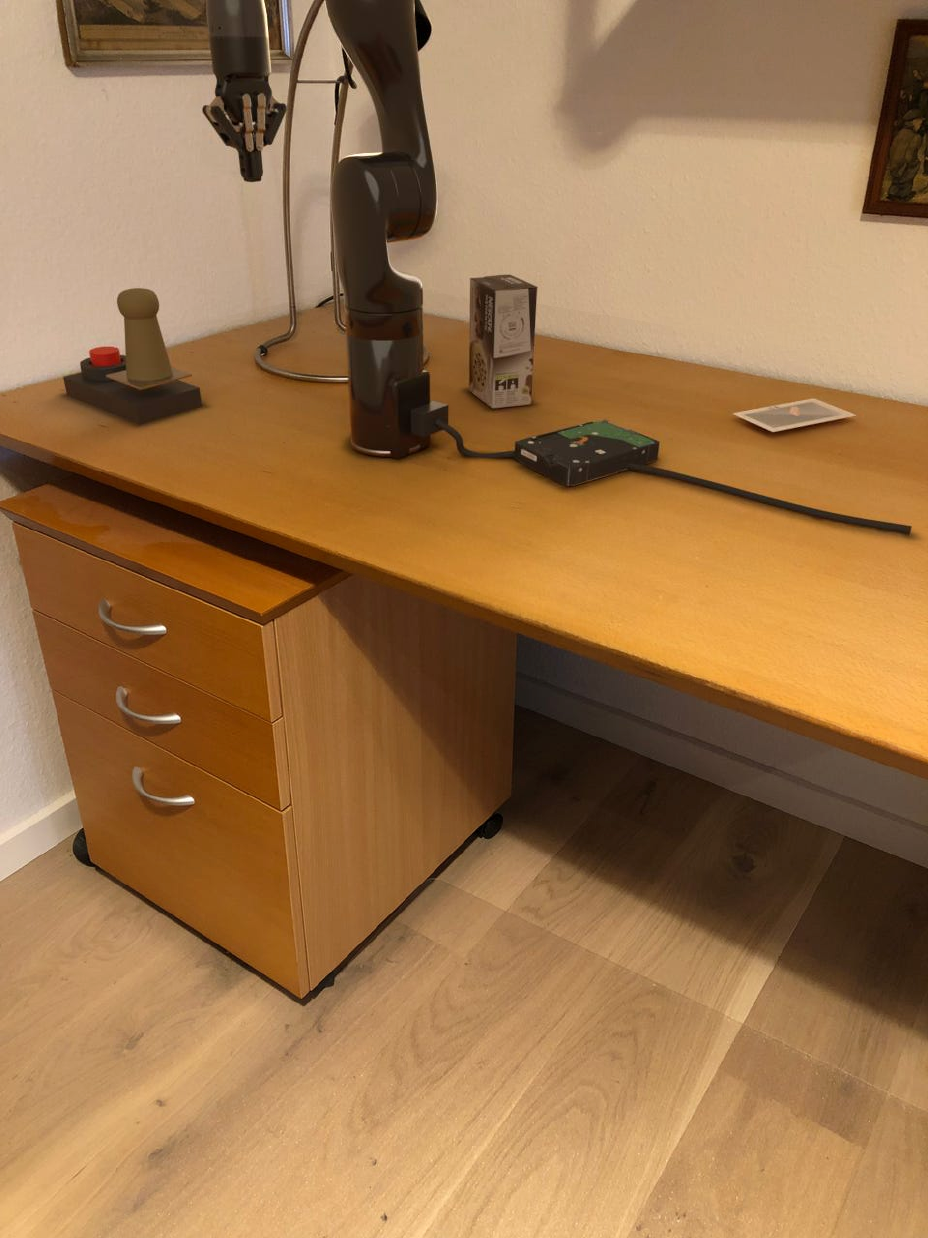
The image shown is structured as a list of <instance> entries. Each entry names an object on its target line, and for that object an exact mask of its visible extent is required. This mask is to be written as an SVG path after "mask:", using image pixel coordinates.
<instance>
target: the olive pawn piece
mask: <svg viewBox="0 0 928 1238" xmlns="http://www.w3.org/2000/svg"><path fill="white" fill-rule="evenodd" d="M116 305H117V309H118V312H119V313H120V314H121V316H122V317H123V320H124V321H123V324H124V325H123V326H124V327H123V328H124V348H125V349H124V350H125V351H124V352H125V353H124V354H125V356H126V375H127V377H128V378H129V379H132V380H138V381H151V380H158V379H163V378H166V377H169V376H170V375H172V373H173V371H172V368H173V367H172V364H171V362H170V358H169V354H168V351H167V347H166V343H165V341H164V338H163V333H162V329H161V327H160V323H159V320H158V313H159V311H160V301H159V298H158V295H157V294H156V293H155V292H154V291H153V290H151V289H150V288H149V289H148V288H143V287H142V288H141V287H138V288H137V287H136V288H135V287H134V288H128V289H124V290H122V291H120V292H119V293H118V295H117V297H116ZM171 367H172V368H171Z"/></svg>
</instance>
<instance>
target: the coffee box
mask: <svg viewBox="0 0 928 1238" xmlns="http://www.w3.org/2000/svg"><path fill="white" fill-rule="evenodd" d="M537 297H538V286H536V285H534V284H532V283H530V282H527V281H526V280H523V279H521V278H519V277H516V276H515V275H512V274H496V275H487V276H486V275H485V276H481V277H480V276H479V277H470V278H469V323H468V324H469V327H468V328H469V330H468V331H469V333H468V337H469V339H468V340H469V341H468V343H469V345H468V346H469V348H468V353H469V355H468V356H469V357H468V360H469V363H468V391H469V392H470V393H472V395H474V396H476V397H477V398H478V399H479V400H480V401H482V402H483V403H484V404H486V405H487V406H489V407H490V408H491V409H500V408H501V409H503V408H510V407H520V406H529V405H531V404H532V393H533V392H532V390H533V374H534V373H533V372H534V354H535V337H536V336H535V335H536V319H537V318H536V317H537V299H538V298H537Z"/></svg>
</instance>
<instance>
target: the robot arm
mask: <svg viewBox="0 0 928 1238" xmlns="http://www.w3.org/2000/svg"><path fill="white" fill-rule="evenodd" d="M265 4H266V3H265V0H205V14H206V15H205V16H206V23H207V24H206V25H207V32H208V43H209V50H210V59H211V60H210V61H211V68H212V73H213V74H214V77H215V79H216V84H215V88H214V94H215V97H214V99H212V101H211V102H210V104H204V105H203V106H202V108H201V111H202V114H203V116H204V117H205V119H206V120H207V121H208V123H209V124H210V125H211V127H212V128H213V129H214V131H215V133H216V134H217V135H218V136H219V138H220V140H221V141H222V142H223V144H224V145H225V146H226V147H231V148H232V149H235V150H236V152H237V154H238V163H239V174H240V176H241V177H242V180H243V181H244V182H247V183H257V182H261V181H262V177H263V174H264V168H263V167H264V166H263V158H262V157H263V156H262V155H263V154H262V151H263V150H264V148H265V147H266V146H271V145H273V143H274V140H275V138H276V136H277V134H278V131H279V130H280V128H281V124H282V122H283V120H284V118H285V115H286V114H287V111H288V106H287V104H286V103H284V102H280V101H278V99H276V98H275V96H274V95H273V88H272V86H271V84H270V79H269V77H270V75H271V74H272V67H271V65H272V63H271V54H270V53H271V51H270V40H269V29H268V17H267V16H268V15H267V10H266V5H265ZM324 4H325V10H326V15H327V18H328V20H329V23H330V24H331V27H332V29H333V31H334V33H335V35H336V37H337V39H338V41H339V43H340V45H341V47H342V49H343V50H344V52H345V53H346V56H347V57H348V58H349V60H350V62H351V64H352V65H353V67H354V69H355V71H356V72H357V73H358V75H359V77H360V79H361V81H362V82H363V84H364V86H365V88H366V90H367V92H368V94H369V96H370V99H371V101H372V104H373V108H374V111H375V113H376V114H375V115H376V119H377V120H376V121H377V124H378V129H379V136H380V144H381V152H367V153H356V154H350V155H346V156H345V157H343V158H341V159H340V161H338V163H337V164H336V166H335V168H334V170H333V174H332V179H331V184H330V209H331V220H332V229H333V238H334V239H333V240H334V249H335V257H336V260H335V261H336V268H337V275H338V279H339V282H340V285H341V289H342V293H343V303H344V320H345V342H346V343H345V344H346V345H345V347H346V360H347V361H346V364H347V381H348V383H347V384H348V399H349V400H348V404H349V419H350V420H349V422H350V446H351V447H352V449H353V450H354V451H357V452H359V453H361V454H364V455H368V456H374V457H383V458H384V457H388V458H394V459H396V460H399V459H401V458H404V457H406V456H408V455H411V454H414V453H416V452H418V451H422V450H423V449H426V448H428V447H431V435H434V434H436V433H439V432H442V431H444V432H446V433H447V434H448V435H450V437H452V438H453V439H454V441H455V443H456V444H455V445H456V449H457V451H458V452H459V454H460V455H462V456H464V457H467V458H473V459H474V458H476V459H477V458H479V459H495V460H496V459H498V460H501V459H502V460H503V459H504V460H505V459H514V456H515V450H506V451H499V452H498V451H497V452H485V453H483V452H482V453H481V452H475V451H472V450H470V449H468V448H466V447H465V446H464V440H463V437H462V435H461V434H460V433H459V432H458V430H457V429H455V428H454V427H452V426H451V425H449V404H447V403H444V402H440V401H436V400H431V374H430V371H428V370H424V369H425V368H424V363H425V361H424V358H425V357H424V286H423V284H422V280H421V279H420V278H418V277H417V276H415V275H412V274H411V273H407V272H404V271H400V270H397V269H395V268H394V267H393V266H392V265H391V261H390V255H389V249H388V244H391V243H392V244H393V243H399V242H406V241H414V240H418V239H421V238H424V237H425V236H427V235H428V234H429V232H430V231H431V230H432V228H433V226H434V223H435V221H436V217H437V212H438V184H437V174H436V167H435V162H434V155H433V150H432V143H431V138H430V132H429V125H428V120H427V113H426V107H425V100H424V94H423V86H422V77H421V68H420V59H419V49H418V40H417V39H418V38H417V28H416V19H415V18H416V15H415V13H416V12H415V0H324ZM253 123H254V124H253ZM627 470H630V471H634V472H639V473H644V474H650V475H653V476H659V477H663V478H667V479H671V480H674V481H679V482H682V483H687V484H691V485H694V486H699V487H702V488H706V489H710V490H713V491H717V492H721V493H724V494H728V495H731V496H735V497H738V498H742V499H744V500H749V501H752V502H755V503H759V504H763V505H766V506H767V505H768V506H771V507H775V508H779V509H783V510H785V511H790V512H792V513H798V514H801V515H805V516H809V517H814V518H817V519H821V520H822V519H823V520H827V521H832V522H836V523H841V524H846V525H851V526H857V527H863V528H869V529H874V530H875V529H876V530H880V531H887V532H892V533H899V534H900V533H901V534H906V535H911V532H912V525H906V524H900V523H895V522H890V521H889V522H888V521H882V520H875V519H869V518H863V517H858V516H851V515H846V514H842V513H836V512H833V511H827V510H822V509H818V508H814V507H810V506H806V505H801V504H797V503H794V502H790V501H786V500H782V499H779V498H774V497H771V496H767V495H763V494H761V493H760V494H759V493H756V492H752V491H748V490H744V489H741V488H737V487H734V486H731V485H727V484H723V483H719V482H716V481H712V480H708V479H705V478H701V477H697V476H693V475H689V474H686V473H685V474H684V473H681V472H677V471H673V470H669V469H665V468H659V467H655V466H652V465H647V464H644V465H641V464H636V463H629V464H628V465H627Z"/></svg>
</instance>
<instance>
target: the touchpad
mask: <svg viewBox="0 0 928 1238" xmlns="http://www.w3.org/2000/svg"><path fill="white" fill-rule="evenodd" d="M731 414H732V415H734V416H736V417H738V418H740V419H743V420H746V421H747V422H749V423H751V424H754V425H755V426H758V427H761V428H763V429H764V430H767V431H768V432H769V431H770V432H771V433H775V432H780V431H785V430H790V429H795V428H799V427H800V428H801V427H806V426H810V425H815V424H820V423H825V422H831V421H836V420H840V419H846V418H850V417H855V416H857V415H856V413H852V412H849V411H847V410H845V409H842V408H840V407H837V406H834V405H832V404H830V403H827V402H825V401H822V400H819V399H817V398H814V397H813V398H808V399H803V400H796V401H791V402H786V403H782V404H776V405H771V406H770V405H769V406H764V407H759V408H753V409H749V410H745V411H744V410H743V411H738V412H732V413H731Z"/></svg>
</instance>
